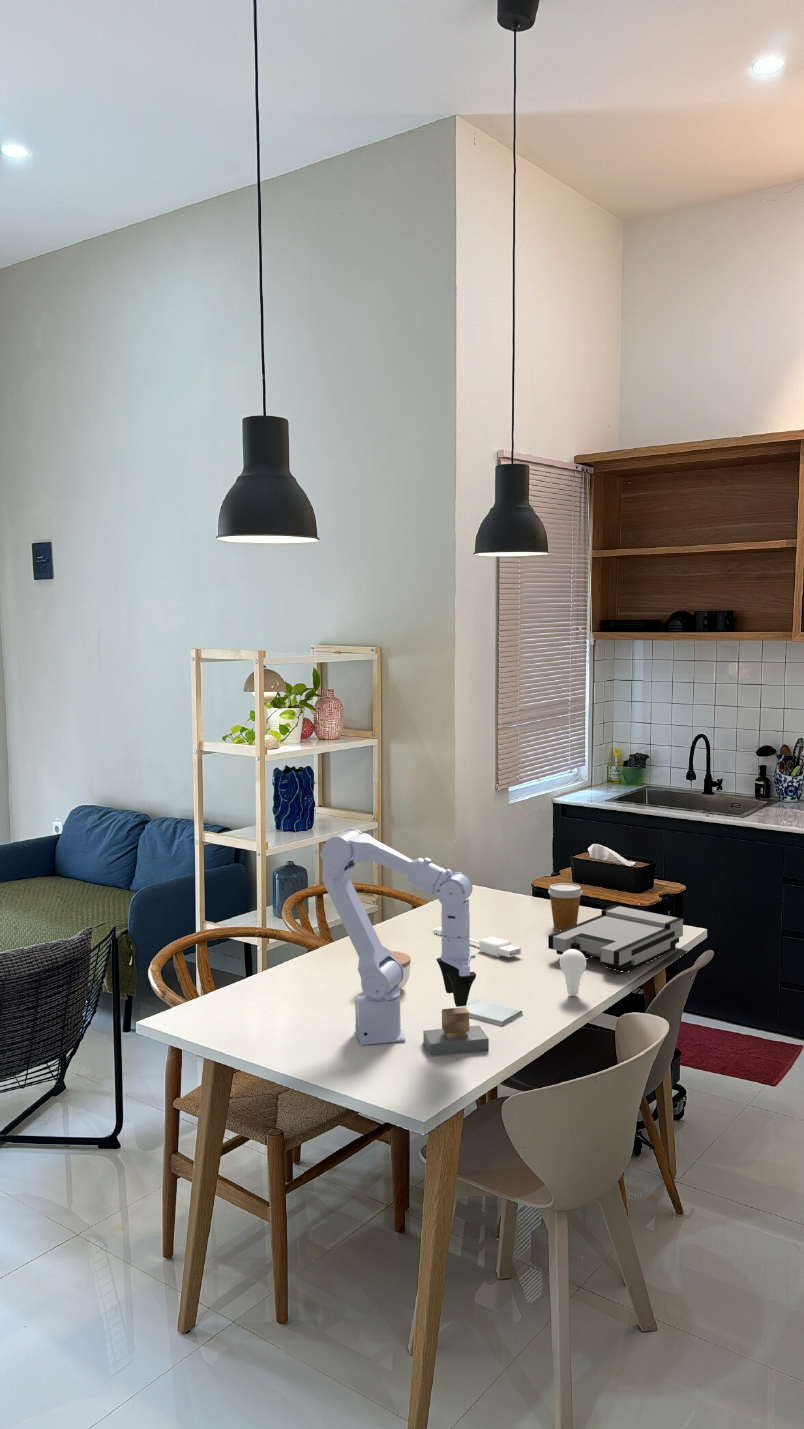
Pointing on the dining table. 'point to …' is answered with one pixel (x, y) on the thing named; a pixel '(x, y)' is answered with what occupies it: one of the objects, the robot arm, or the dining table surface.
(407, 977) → the lidded jar
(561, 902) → the disposable coffee cup
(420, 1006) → the dining table surface
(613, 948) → the game console
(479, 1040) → the block
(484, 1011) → the hard drive
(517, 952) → the charging cable
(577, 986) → the lightbulb
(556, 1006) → the dining table surface
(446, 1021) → the walnut plug
